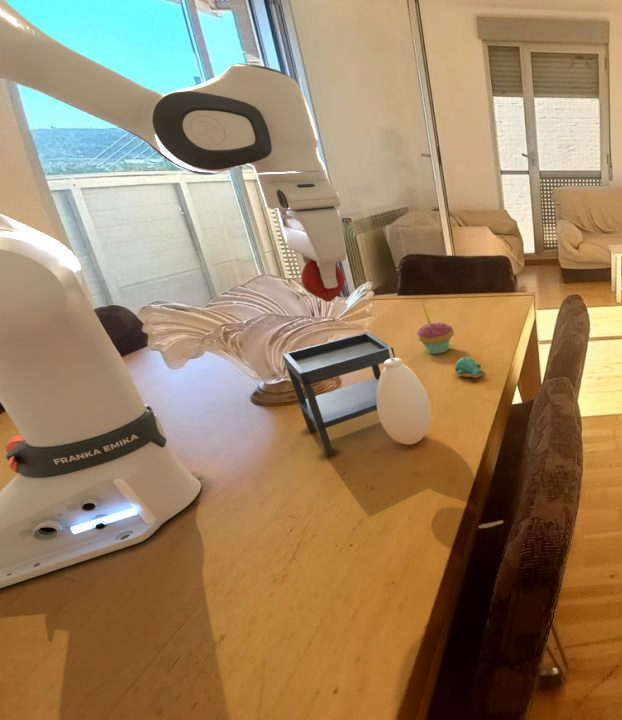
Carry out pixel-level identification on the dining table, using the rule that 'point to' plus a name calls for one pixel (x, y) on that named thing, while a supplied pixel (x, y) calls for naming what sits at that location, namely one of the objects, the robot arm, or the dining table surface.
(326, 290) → the onion
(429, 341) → the cupcake
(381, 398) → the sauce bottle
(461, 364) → the teal animal figurine
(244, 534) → the dining table surface
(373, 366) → the rack
